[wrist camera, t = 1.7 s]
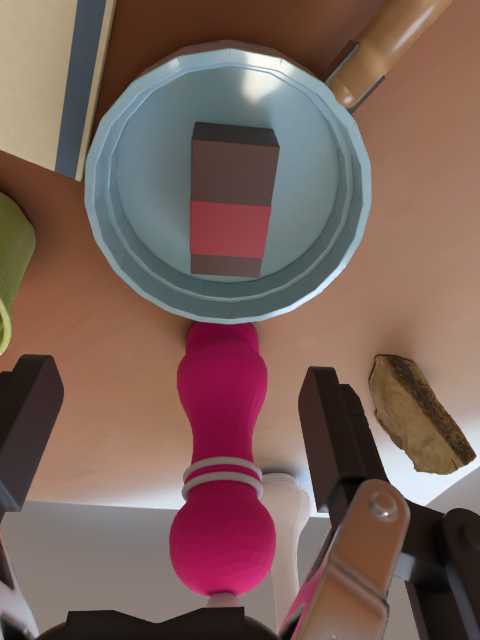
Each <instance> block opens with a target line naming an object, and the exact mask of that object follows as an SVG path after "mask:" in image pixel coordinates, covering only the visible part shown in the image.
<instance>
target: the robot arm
mask: <svg viewBox="0 0 480 640" xmlns="http://www.w3.org/2000/svg"><path fill="white" fill-rule="evenodd" d="M63 397H64V387H63V384H62V381H61V378H60V375H59V372H58V369H57V367H56V364H55V361H54V358H53V357H52V356H51V355H31V354H24V355H22V356H21V357H20V358H19V360H18V362H17V364H16V365H15V367H14V369H13V371H12V372H7V371H3V372H1V373H0V523H1V521H2V518H3V516H4V513H5V512H18V511H19V512H20V511H21V509H22V506H23V504H24V501H25V498H26V496H27V493H28V491H29V488H30V486H31V483H32V480H33V478H34V475H35V473H36V470H37V468H38V465H39V462H40V460H41V457H42V455H43V452H44V449H45V447H46V444H47V442H48V439H49V437H50V434H51V431H52V429H53V426H54V424H55V421H56V419H57V416H58V413H59V411H60V408H61V406H62V402H63ZM298 410H299V416H300V421H301V427H302V432H303V438H304V443H305V448H306V454H307V459H308V464H309V470H310V475H311V480H312V486H313V491H314V497H315V502H316V507H317V513H329V516H330V521H331V526H330V528H329V530H328V532H327V534H326V537H325V539H324V541H323V543H322V545H321V547H320V549H319V551H318V554H317V556H316V558H315V560H314V562H313V564H312V566H311V568H310V571H309V573H308V575H307V577H306V579H305V581H304V584H303V585H302V587H301V589H300V591H299V593H298V594H297V596H296V598H295V600H294V601H293V603H292V605H291V607H290V609H289V611H288V613H287V615H286V618H285V620H284V622H283V624H282V626H281V628H280V630H279V632H278V635H276V634H275V633H274V632H273V631H272V630H271V629H269V628H268V627H266V626H265V625H264V624H262V623H261V622H259V621H257V620H255V619H253V618H251V617H248V616H245V615H244V607H210V608H200V609H198V610H195V611H192V612H189V613H186V614H184V615H181V616H178V617H175V618H173V619H170V620H167V621H164V622H162V623H152V622H149V621H146V620H143V619H139V618H136V617H133V616H130V615H127V614H124V613H121V612H117V611H115V610H98V611H69V612H68V616H67V620H66V622H64V623H61V624H59V625H57V626H55V627H53V628H51V629H49V630H47V631H46V632H44V633H42V634H41V635H40V634H39V632H38V628H37V625H36V622H35V619H34V617H33V614H32V612H31V610H30V607H29V605H28V603H27V602H26V600H25V599H24V597H23V595H22V593H21V590H20V588H19V584H18V581H17V578H16V575H15V572H14V569H13V566H12V563H11V559H10V556H9V553H8V550H7V547H6V544H5V541H4V538H3V535H2V532H1V529H0V640H383V637H384V634H385V630H386V627H387V623H388V619H389V605H388V603H387V596H388V591H389V588H390V585H391V581H392V578H393V576H395V577H398V578H400V579H403V580H404V581H405V585H406V589H407V592H408V596H409V600H410V604H411V608H412V611H413V615H414V619H415V622H416V626H417V630H418V634H419V638H420V640H480V516H479V515H478V514H476V513H474V512H472V511H470V510H467V509H463V508H456V509H452V510H450V511H449V512H447V513H446V514H444V513H441V512H438V511H435V510H432V509H429V508H426V507H424V506H421V505H418V504H415V503H413V502H411V501H409V500H407V499H406V498H404V497H403V495H402V494H401V493H400V492H399V490H397V489H396V488H395V487H394V486H393V485H391V483H390V482H389V480H388V478H387V476H386V473H385V470H384V468H383V465H382V462H381V459H380V456H379V453H378V450H377V447H376V444H375V441H374V439H373V436H372V433H371V430H370V428H369V424H368V421H367V418H366V416H365V415H364V413H365V412H364V409H363V407H362V404H361V401H360V398H359V397H358V395H357V394H356V393H355V392H354V390H353V389H352V388H351V386H350V385H349V384H339V381H338V378H337V375H336V371H335V369H334V368H333V367H315V366H310V367H309V368H308V371H307V373H306V376H305V379H304V382H303V385H302V388H301V391H300V394H299V399H298Z"/></svg>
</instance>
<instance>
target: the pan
mask: <svg viewBox="0 0 480 640" xmlns="http://www.w3.org/2000/svg"><path fill="white" fill-rule="evenodd" d="M317 95H318V96H319V97H320V98H321V99H322V100H323V101H322V100H321V99H320V98H319V97H318V96H317ZM325 104H326V105H327V106H328V107H327V106H326V105H325ZM195 122H205V123H216V124H226V125H237V126H247V127H258V128H268V129H273V130H274V132H275V135H276V138H277V140H278V143H279V146H280V152H279V158H278V164H277V170H276V177H275V183H274V189H273V195H272V202H271V206H272V208H271V214H270V220H269V226H268V233H267V239H266V245H265V251H264V257H263V258H262V264H261V270H260V276H259V278H253V277H236V276H218V275H201V274H191V254H190V198H191V139H192V134H193V129H194V124H195ZM371 203H372V192H371V163H370V159H369V156H368V154H367V151H366V148H365V145H364V142H363V140H362V137H361V134H360V131H359V129H358V126H357V123H356V122H355V119H354V118H353V117H352V116H351V114H350V113H349V112H348V111H347V110H346V108H345V107H344V106H342V105H340V104H339V103H338V102H337V101H336V99H335V96H334V94H333V92H332V91H331V90H330V89H329V87H328V86H327V85H326V84H325V83H324V82H323V81H321V80H320V79H319V78H318V77H317V76H316V75H315V74H314V73H312V72H311V71H310V70H309V69H307V68H305V67H304V66H302V65H301V64H299V63H297V62H296V61H294V60H292V59H291V58H289V57H287V56H286V55H284V54H283V53H281V52H279V51H278V50H276V49H273V48H272V47H267V46H262V45H256V44H251V43H246V42H241V41H236V40H231V39H230V40H227V39H226V40H220V41H214V42H207V43H201V44H195V45H189V46H185V47H182V48H180V49H178V50H177V51H175V52H173V53H171V54H170V55H168V56H166V57H164V58H163V59H161V60H159V61H157V62H156V63H154V64H152V65H150V66H149V67H147V68H146V69H144V70H143V71H142V72H141V73H140V74H139V75H138V76H137V77H136V78H135V79H134V80H133V81H132V82H131V84H130V85H129V86H128V87H127V88H126V90H125V91H124V92H123V93H122V94H121V95H120V97H119V98H118V99H117V100H116V101H115V103H114V104H113V105H112V106H111V107H110V109H109V110H108V111H107V112H106V113H105V115H104V116H103V117H102V119H101V120H100V123H99V125H98V128H97V131H96V133H95V136H94V139H93V142H92V144H91V147H90V150H89V152H88V155H87V158H86V162H85V190H84V204H85V208H86V211H87V215H88V218H89V222H90V225H91V229H92V232H93V236H94V239H95V241H96V243H97V245H98V246H99V248H100V249H101V251H102V253H103V254H104V256H105V258H106V259H107V261H108V262H109V264H110V266H111V267H112V269H113V270H114V271H115V273H116V274H117V275H118V276H119V277H121V278H122V279H123V280H124V281H125V282H126V283H127V284H128V285H129V286H130V287H131V288H132V289H133V290H134V291H135V292H136V293H137V294H138V295H140V296H141V297H143V298H145V299H147V300H148V301H150V302H152V303H153V304H155V305H157V306H159V307H160V308H162V309H164V310H165V311H167V312H170V313H173V314H176V315H179V316H183V317H186V318H189V319H192V320H195V321H199V322H208V323H219V324H239V323H247V322H256V321H263V320H266V319H269V318H271V317H274V316H277V315H280V314H283V313H286V312H289V311H292V310H294V309H295V308H297V307H298V306H300V305H302V304H303V303H305V302H307V301H308V300H310V299H311V298H313V297H315V296H316V295H318V294H319V293H321V292H322V291H323V290H324V289H325V288H326V287H327V286H328V285H329V284H330V283H331V282H332V281H333V280H334V279H335V278H336V277H337V276H338V275H339V274H340V273H341V272H342V271H343V269H344V268H345V267H346V265H347V263H348V262H349V260H350V258H351V257H352V255H353V253H354V252H355V250H356V248H357V246H358V245H359V243H360V241H361V239H362V237H363V233H364V229H365V226H366V222H367V218H368V215H369V211H370V207H371Z"/></svg>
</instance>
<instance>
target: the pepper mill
mask: <svg viewBox="0 0 480 640" xmlns="http://www.w3.org/2000/svg"><path fill="white" fill-rule="evenodd" d="M177 389H178V393H179V397H180V401H181V404H182V406H183V408H184V410H185V412H186V415H187V417H188V419H189V422H190V424H191V427H192V433H193V456H192V462H191V466H189V467H188V468H187V469H186V471H185V472H184V475H183V481H184V487H183V489H182V496H183V498H184V500H185V501H186V504H185V505H184V506H183V507H182V508H181V509H180V510H179V512H178V513H177V515H176V516H175V518H174V521H173V524H172V526H171V530H170V538H169V544H170V557H171V561H172V565H173V568H174V570H175V572H176V574H177V575H178V577H179V578H180V580H181V581H182V582H183V583H184V584H185V585H186V586H187V587H188V588H189V589H191V590H193V591H195V592H197V593H199V594H202V595H205V596H210V597H211V598H210V600H209V601H208V603H207V607H206V608H210V607H240V604H239V601H238V599H237V597H236V596H237V595H241V594H243V593H245V592H248V591H250V590H251V589H253V588H254V587H256V586H257V585H258V584H259V583H260V582H261V581H262V580H263V579H264V578H265V577H266V575H267V574H268V572H269V570H270V569H271V566H272V563H273V560H274V557H275V550H276V531H275V525H274V521H273V519H272V517H271V515H270V513H269V512H268V510H267V509H266V507H265V506H264V505H263V504H262V503H261V502H260V501H259V499H260V498H261V497H262V495H263V486H262V484H261V480H262V472H261V470H260V468H259V467H258V466H257V465H255V464H254V461H253V455H252V433H253V428H254V425H255V422H256V419H257V416H258V414H259V412H260V409H261V407H262V405H263V402H264V399H265V395H266V391H267V368H266V365H265V363H264V360H263V359H262V358H261V356H260V355H259V347H258V337H257V333H256V331H255V329H254V328H253V326H252V325H251V324H250V323H248V322H247V323H239V324H219V323H208V322H199V321H198V322H196V323H195V324H194V325H193V326H192V327H191V329H190V330H189V332H188V335H187V342H186V355H185V356H184V357H183V359H182V360H181V362H180V364H179V367H178V371H177Z"/></svg>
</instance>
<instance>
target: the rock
mask: <svg viewBox="0 0 480 640" xmlns="http://www.w3.org/2000/svg"><path fill="white" fill-rule="evenodd" d="M375 361H376V365H375V368H374V371H373V373H372V375H371V379H370V380H369V383H370V392H371V394H372V397H373V398H374V404H375V406H376V408H377V409H378V410H377V414H376V420H377V422H378V423H379V424H380V426H381V427H382V429H383V430H384V431H385V432H386V433H387V434H388V435H389V436H390V438H391V440H392V441H393V443H394V444H395V445H396V446H397V447H399V448H400V449H402V450H404V451H405V453H406V454H407V455H408V457H409V458H410V459H411V460H412V462H413V464H414V469H415V470H416V471H417V472H426V473H431V474H432V473H436V474H439V475H447V474H451V473H453V472H455V471H457V470H458V468H460V467H463V466H465V465H468V464H469V463H470V462H471V461H473V460H474V459H475V458H476V454H475V452H474V450H473V449H472V447H471V446H470V444H469V442H468V441H467V439H466V437H465V436H464V434H463V433H462V431H461V429H460V428H459V426H458V425H457V424H456V423H455V421H454V420H453V419H452V417H451V416H450V415H449V414H448V413H447V411H446V410H445V409H444V407H443V406H442V405H441V404H440V402H439V401H438V400H437V399H436V396H435V394H434V392H433V390H432V389H431V387H430V386H429V384H428V382H427V380H426V378H425V377H424V375H423V374H422V372H421V371H420V370H419V368H418V366H417V365H416V364H414V363H412V362H410V361H407V360H404V359H401V358H399V357H394V356H381V355H379V356H377V357H375Z"/></svg>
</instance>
